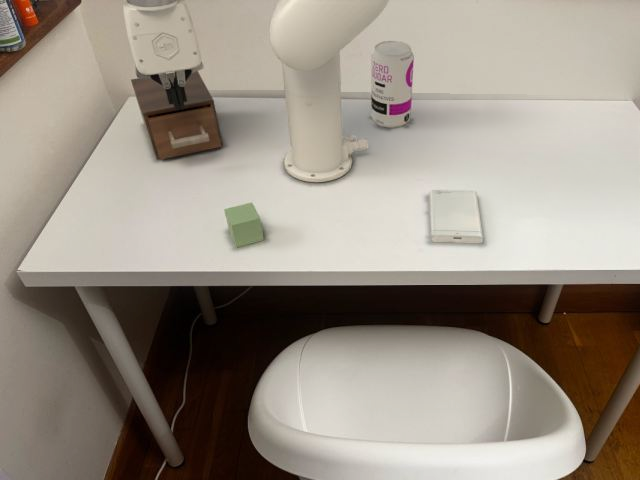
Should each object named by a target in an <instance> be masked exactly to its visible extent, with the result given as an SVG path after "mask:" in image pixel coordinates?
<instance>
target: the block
mask: <svg viewBox="0 0 640 480" xmlns="http://www.w3.org/2000/svg"><path fill="white" fill-rule="evenodd" d="M224 215H225V219H226V224H227V228H228V231H229V234H230V236H231V239H232V241H233V243H234V246H235V248H240V247H244V246H248V245H251V244H255V243H259V242H262V241H264V240H265V239H264V233H263V226H262V220H261V216H260V214H259V213H258V211H257V209H256V207H255V205H254V203H253V202H248V203H244V204H239V205H236V206H232V207H228V208H224Z"/></svg>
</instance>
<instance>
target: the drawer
mask: <svg viewBox="0 0 640 480" xmlns="http://www.w3.org/2000/svg"><path fill="white" fill-rule="evenodd" d="M149 117H150V118H148V121H149V124H150V128H151V131H152V134H153V137H154V141H155V144H156V147H157V151H158V154H159V157H160V159H159V160H165V159H169V158H174V157H179V156H184V155H188V154H194V153H197V152H202V151H208V150H212V149H217V148H221V147H222V146H221V143H220V138H219V134H218V129H217V124H216V119H215V115H214V110H213V108H212V106H211V107H207V105H204V106H199V107H193V108H188V109H183V110H178V111H172V112H167V113H161V114H156V115H151V116H149Z"/></svg>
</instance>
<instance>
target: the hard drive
mask: <svg viewBox="0 0 640 480" xmlns="http://www.w3.org/2000/svg"><path fill="white" fill-rule="evenodd" d="M428 199H429V216H430V233H431V242H432V243H433V242H434V243H451V244H452V243H455V244H456V243H457V244H482V243H483V240H484V233H483V227H482V221H481V214H480V207H479V201H478V199H479V198H478V193H477V191H475V190H462V189H461V190H459V189H458V190H457V189H455V190H454V189H430V190H429V198H428Z"/></svg>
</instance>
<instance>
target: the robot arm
mask: <svg viewBox="0 0 640 480" xmlns="http://www.w3.org/2000/svg"><path fill="white" fill-rule="evenodd" d="M389 1H390V0H276V3H275V7H274V9H273V13H272V16H271V19H270V20H271V21H270V24H269V41H270V45H271V48H272V51H273V52H274V54H275V57H276V58H278V60H279V61H280V62H281V67H282V69H281V70H282V77H283V79H282V80H283V88H284V97H285V98H284V99H285V107H286V115H287V123H288V124H287V125H288V133H289V142H290V143H289V144H290V150H289V151H288V152H287V153H286V155H285V156H284V158H283V163H284V169H285V171H286V172H287V173H288V174H289V175H290V176H291V177H293V178H295V179H296V180H298V181H303V182H308V183H327V182H330V181H334V180H337V179H339V178H341V177H343V176H345V175H346V174H347V173H348V172H349V171H350V170H351V168H352V165H353V159H352V158H353V157H352V154H353V153H354V152H357V151H358V152H359V151H363V150H366V149H368V148H369V144H368V143H369V142H368V141H367V138H361V139H357V137H356V135H354V134H353V135H349V136H346V137H344V136H343V112H342V111H343V109H342V88H341V87H342V81H341V79H342V78H341V53H340V52H342V50H343V49H344V48H345V47H346V46H348V45H349V44H350V43H351V42H352V41H354V40H355V38H357V37H358V36H359V35H360V34H361V33H362V32H364V30H366V29H367V28H368V27H369V26H370V25H371V24H372V23H373V22H374V21H375V20H376V19H378V17H379V16H380V15H381V14H382V12H383V11H384V10H385V8H386V7H387V5H388V3H389ZM122 8H123V10H122V11H123V18H124V23H125V29H126V31H125V32H126V36H127V41H128V45H129V48H130V52H131V55H132V59H133V62H134V67H135V68H134V69H135V71H134V72H135V75H136V79H137V78H139V79H152V80H154V81H156V82H157V83H159V84H160V85H162V86H163V87H164V88H165V91H166V95H167V99H168V102H169V105H171V104H173V105H174V108H175V110H176V111H178V110H179V109H180V108H181V109H182V110H183V109H185V106H184V102H187V98H186V93H185V89H184V85H185V82H186V80H187V79H188V78H189V76H190V75H191V73H193V72H196V71H198V72H199V71H200V70H203V69H204V63H203V61H202V56H201V50H200V45H199V42H198V37H197V34H196V29H195V25H194V23H193V19H192V15H191V13H190V11H189V7H188V5H187V3H186V1H185V0H124V2H123V3H122ZM173 72H174V73H175V78H174V82H173V83H172V82H171V80H170V79H169V78H168V77H167V75H166V74H167V73H173ZM173 85H174V86H173ZM179 106H180V107H179Z"/></svg>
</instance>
